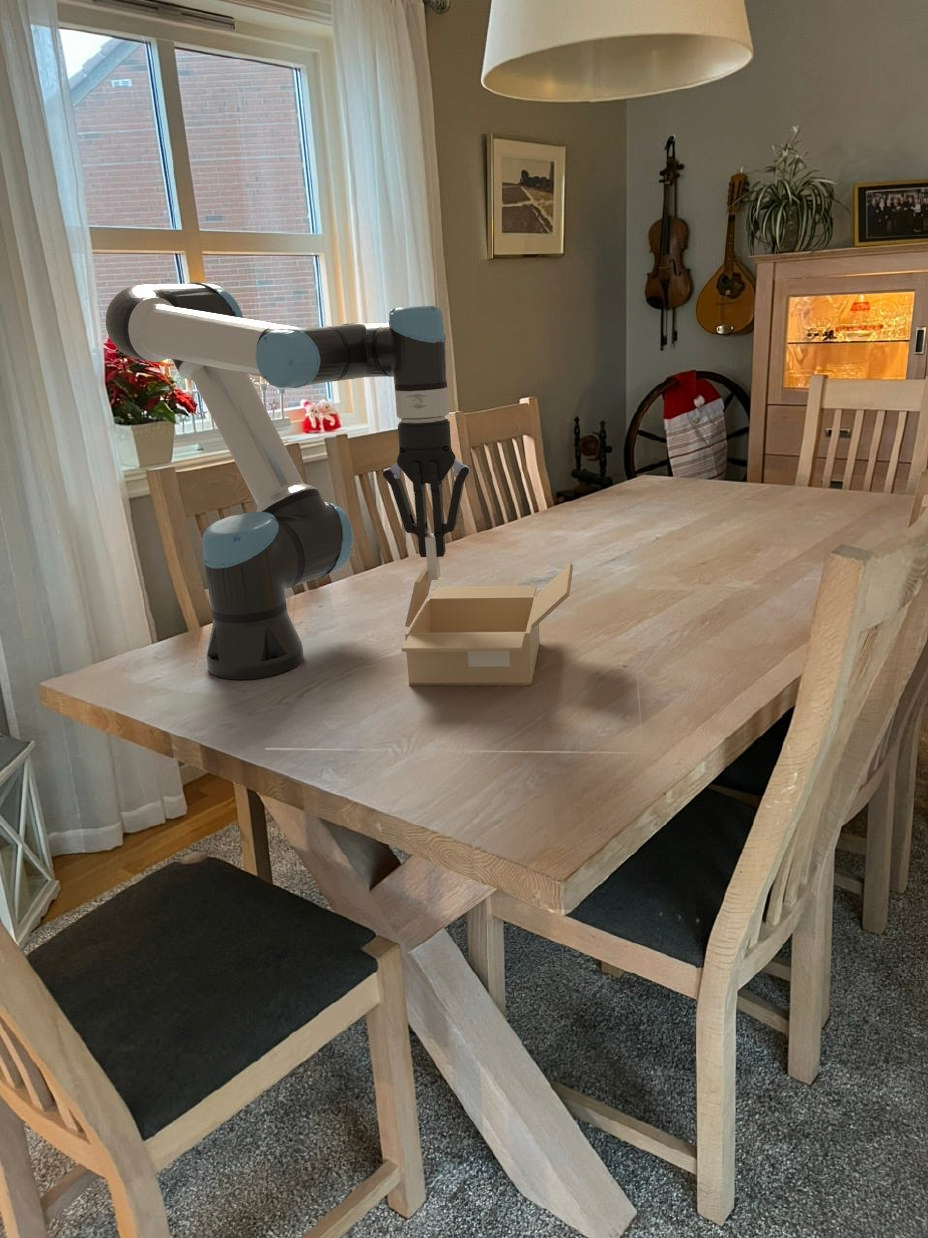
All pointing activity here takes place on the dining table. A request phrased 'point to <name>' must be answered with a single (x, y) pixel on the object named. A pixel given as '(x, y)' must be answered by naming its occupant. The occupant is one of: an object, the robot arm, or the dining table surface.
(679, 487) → the dining table surface
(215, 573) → the robot arm
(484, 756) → the dining table surface
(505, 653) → the carton
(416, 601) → the flap
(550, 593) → the flap
